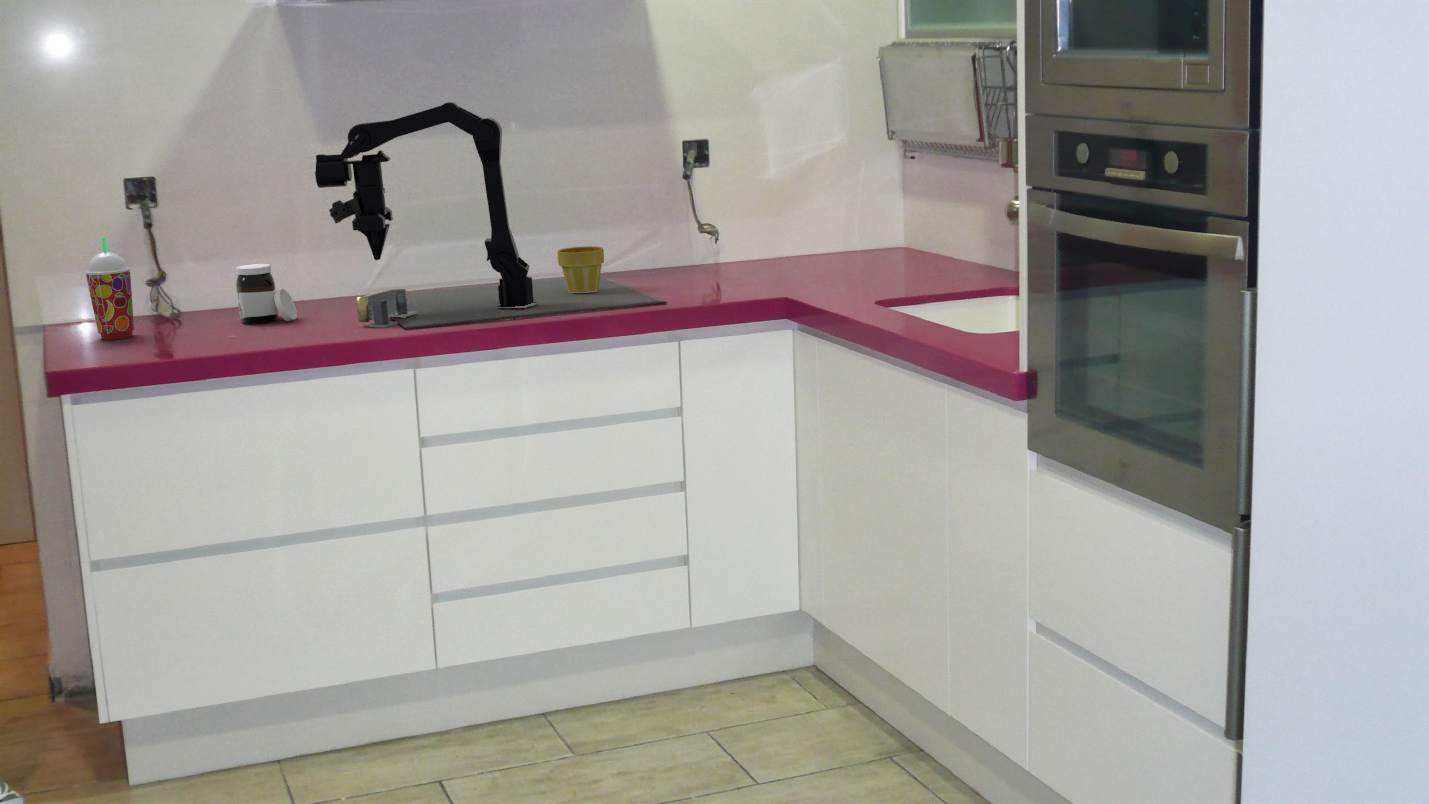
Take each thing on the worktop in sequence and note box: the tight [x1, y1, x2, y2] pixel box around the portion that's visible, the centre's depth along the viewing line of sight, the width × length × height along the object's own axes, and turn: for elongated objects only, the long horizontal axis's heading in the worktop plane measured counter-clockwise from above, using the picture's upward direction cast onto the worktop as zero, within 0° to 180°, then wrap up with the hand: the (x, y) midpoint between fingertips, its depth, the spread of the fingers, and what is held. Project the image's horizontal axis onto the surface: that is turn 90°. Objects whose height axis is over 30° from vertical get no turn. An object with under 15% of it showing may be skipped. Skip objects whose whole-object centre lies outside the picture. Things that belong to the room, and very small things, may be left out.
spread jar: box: [235, 263, 298, 325], centre depth 296 cm, size 12×11×12 cm
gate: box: [355, 288, 397, 323], centre depth 289 cm, size 11×2×5 cm, turn 155°
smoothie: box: [84, 237, 135, 341], centre depth 282 cm, size 8×8×20 cm
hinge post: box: [388, 288, 418, 319], centre depth 296 cm, size 5×5×6 cm
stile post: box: [369, 300, 398, 329], centre depth 285 cm, size 4×4×5 cm
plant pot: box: [557, 245, 605, 293], centre depth 317 cm, size 10×10×10 cm
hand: (377, 259), depth 297 cm, fingers closed
